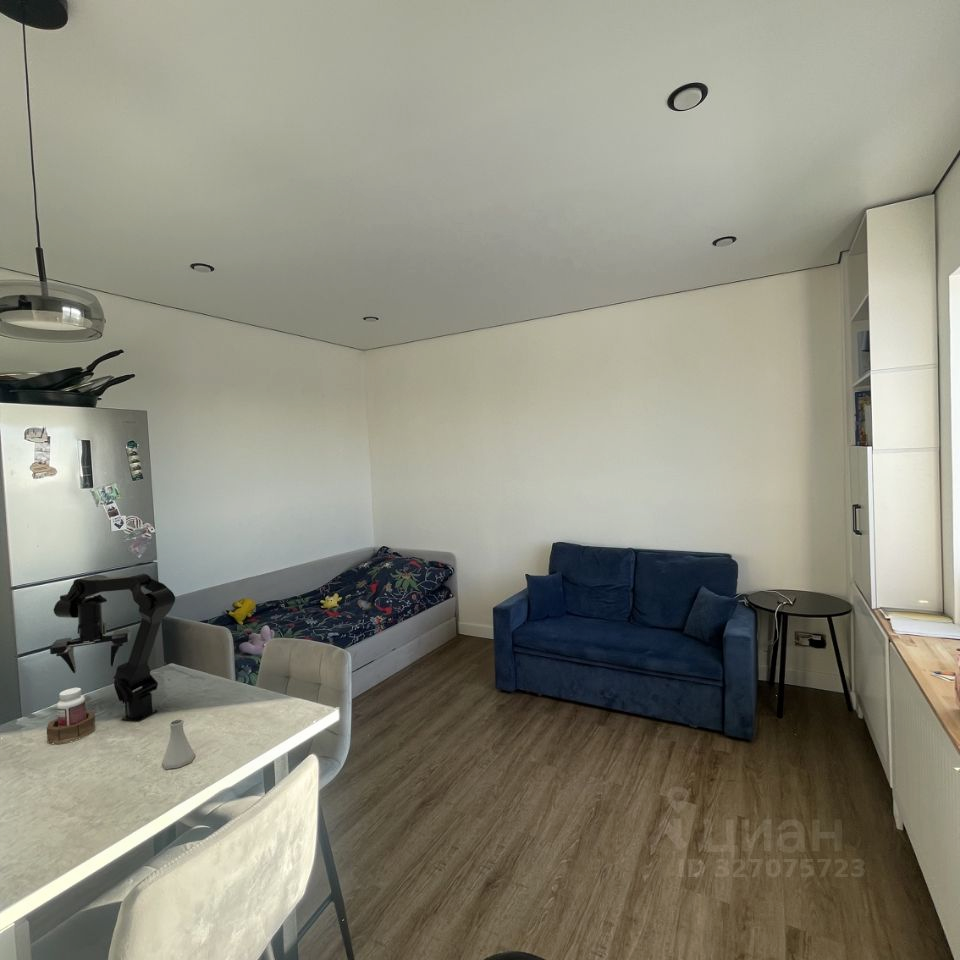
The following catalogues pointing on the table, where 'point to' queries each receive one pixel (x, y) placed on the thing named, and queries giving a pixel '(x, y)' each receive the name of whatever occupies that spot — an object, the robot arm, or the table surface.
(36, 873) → the table surface
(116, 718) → the table surface
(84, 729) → the bottle holder
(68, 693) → the pill bottle
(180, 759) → the flask
